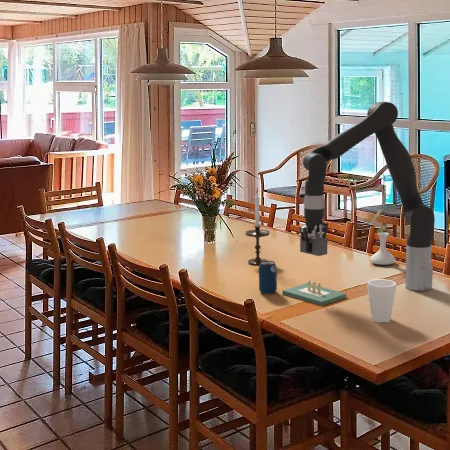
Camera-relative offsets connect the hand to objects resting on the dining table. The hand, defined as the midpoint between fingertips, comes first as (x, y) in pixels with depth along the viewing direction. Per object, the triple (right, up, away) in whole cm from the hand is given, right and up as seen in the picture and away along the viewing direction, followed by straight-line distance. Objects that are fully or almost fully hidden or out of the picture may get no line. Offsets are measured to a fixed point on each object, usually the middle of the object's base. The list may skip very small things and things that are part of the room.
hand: (313, 250), depth 256 cm
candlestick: (-19, -8, +53) cm, 57 cm away
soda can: (-17, -17, +9) cm, 26 cm away
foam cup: (+20, -23, -24) cm, 39 cm away
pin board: (+1, -17, +3) cm, 18 cm away
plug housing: (0, -1, 0) cm, 1 cm away
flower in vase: (+36, -8, +46) cm, 59 cm away
